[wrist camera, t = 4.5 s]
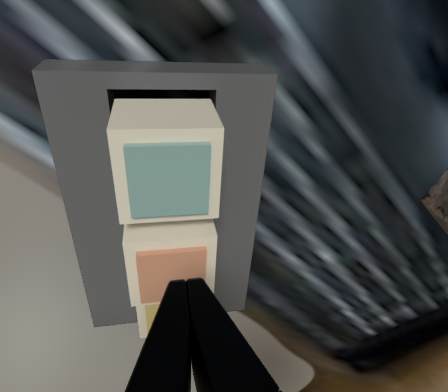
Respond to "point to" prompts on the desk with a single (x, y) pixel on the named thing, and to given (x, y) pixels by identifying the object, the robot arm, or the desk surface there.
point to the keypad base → (103, 177)
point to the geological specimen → (438, 201)
